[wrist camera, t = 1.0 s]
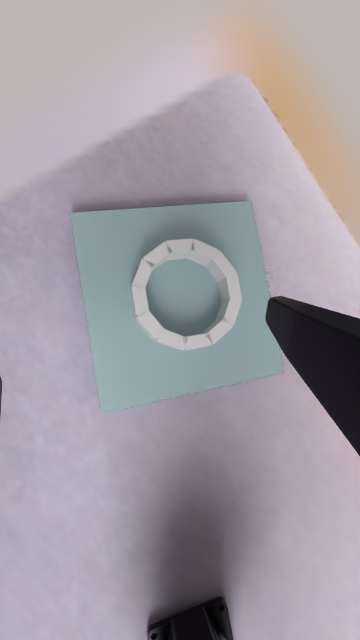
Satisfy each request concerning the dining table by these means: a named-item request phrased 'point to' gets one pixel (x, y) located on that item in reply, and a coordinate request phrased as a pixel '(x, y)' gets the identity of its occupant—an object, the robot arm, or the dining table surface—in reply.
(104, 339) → the board
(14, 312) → the dining table surface
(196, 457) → the dining table surface
